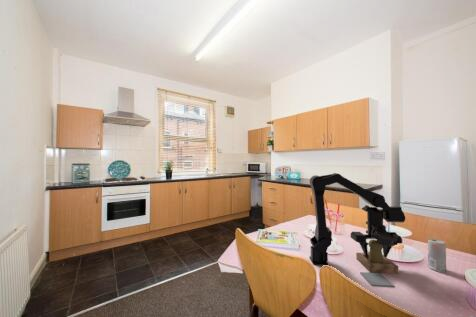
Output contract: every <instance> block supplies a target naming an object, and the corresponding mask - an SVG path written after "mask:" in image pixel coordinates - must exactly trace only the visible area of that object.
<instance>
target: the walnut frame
mask: <svg viewBox="0 0 476 317" xmlns="http://www.w3.org/2000/svg"><path fill="white" fill-rule="evenodd" d="M355 256H356V260H357V261H358V262H359V263H360V264H361V265H362V266H363V267H364V268H365V270H367V271H368V273H381V274H399V266H398V265H397V264H396V263H394V262H393V260H391V259H389V258H388V256H387V257H384V253H382V256H383V262H384V264H380V263H371V262H370V261H369V260H368V259H369V252H368V256H367V257H366V256H365V254H364V252H356V254H355Z"/></svg>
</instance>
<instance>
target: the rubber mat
mask: <svg viewBox="0 0 476 317" xmlns="http://www.w3.org/2000/svg"><path fill="white" fill-rule="evenodd" d="M359 274H360V275H361V276H362V277H363V279H365V280H366V282H367V283H368V284H369V285H370V286H372V287H385V288H386V287H387V288H388V287H390V288H395V284H393V283H392V282H391V280H389V279H388V278H387V277H386V276H385V275H383V273H371V272H369V271H368V272H363V271H361V272H359Z"/></svg>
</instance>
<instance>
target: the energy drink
mask: <svg viewBox="0 0 476 317" xmlns="http://www.w3.org/2000/svg"><path fill="white" fill-rule="evenodd" d="M427 251H428V253H427V257H428V258H427V259H428V260H427V261H428V262H427V263H428V264H427V266H428V268H430V270H431V271H434V272H438V273H441V274H442V273H443V274H444V273H446V272H447V245H446V241H443V240H440V239H437V238H429V239H428V240H427Z"/></svg>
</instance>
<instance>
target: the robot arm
mask: <svg viewBox="0 0 476 317" xmlns="http://www.w3.org/2000/svg"><path fill="white" fill-rule="evenodd" d="M333 184H338V185H340V186H342V187H343V188H344V189H347V190H349V191H351V193H354V194H355V195H357V196H359V197H360V199H362V200H363V201H364V202H365V203H367V204H369V205H370V206H369V205H367V204H365V206H363V207H362V208H361V210H362V211H364V212H366V217H367V218H366V219H367V220H366V221H365V224H366V225H367V229H366V230H365V233H366V234H364V233H362V232H361V231H351V233H350V238H351V239H352V240H353V241H355V243H358V244H359V245H360V247H361V250H362V251H363V252H362V253H364V254H365V256H366V257H367V256H368V253H369V252H368V251H369V250H368V246H369V242H367V240H377V241H378V242H379V244H381V245H383V248H382V254H383V255H384V257H387V258H388V255H389V253H390V251H391V249H392V247H394V246H397V245H398V244H403V237H401V235H399V234H397V232H395V231H394V232H393V231H387V229H386V228H387V227H386V225H384V220H385V222H387V223H400V224H401V223H403V224H404V222H405V221H406V216H405V213H404V211H403V210H402V206H399V205H398V206H397V205H394V206H390V205H389V204H388V203H387V202H386V198H385V197H384V195H382V194H380V193H378V192H374V191H371V190H369V189H366V188H364V187H362V186H360V185H359V184H357V183H355V182H353V181H351V180H350V179H348V178H346V177H345V176H342V175H341V174H340V173H336V172H334V173H331V174H325V175H312V176H311V177H310V178H309V185H310V188H311V190H312V194H313V198H314V201H313V202H314V211H315V222H316V223H315V224H316V226H315V229H314V236H312V237H311V238H310V239H309V241H310V244H311V246H310V255H309V259H310V261H311V263H312V265H314V266H315V265H316V266H318V265H321V266H328V265H329V263H328V262H329V260H328V258H329V256H328V248H329V247H330V246H331V245H332V242H334V241H333V240H334V239H333V238H332V236H333V235H332V234H333V233H332V232H333V231H331V229H330V228H329V227H328V226H327V221H326V220H327V218H326V209H325V208H326V207H325V199H324V198H325V197H324V196H325V191H326V187H327V186H330V185H333Z"/></svg>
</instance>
